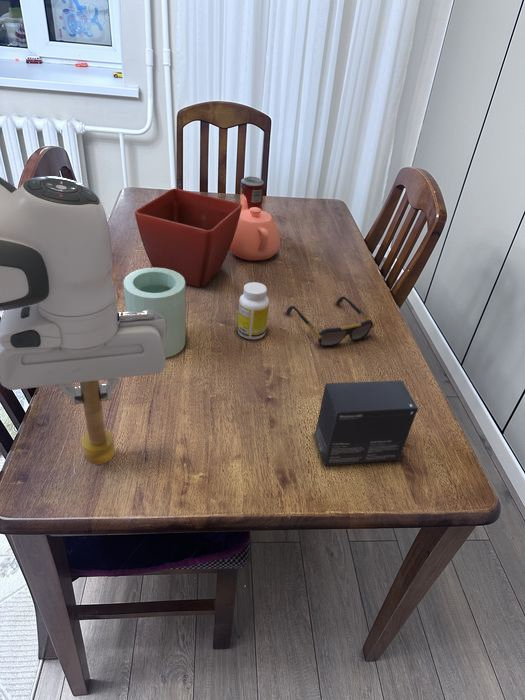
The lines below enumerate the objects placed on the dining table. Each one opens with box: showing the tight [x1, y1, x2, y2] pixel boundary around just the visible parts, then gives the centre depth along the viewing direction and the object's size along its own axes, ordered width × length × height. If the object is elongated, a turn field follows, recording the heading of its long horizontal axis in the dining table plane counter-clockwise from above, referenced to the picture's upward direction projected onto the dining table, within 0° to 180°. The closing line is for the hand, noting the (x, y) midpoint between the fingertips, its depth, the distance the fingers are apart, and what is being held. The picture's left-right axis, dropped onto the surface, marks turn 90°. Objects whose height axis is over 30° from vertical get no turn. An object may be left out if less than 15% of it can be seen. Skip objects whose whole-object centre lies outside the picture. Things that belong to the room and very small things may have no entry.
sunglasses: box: [286, 296, 376, 348], centre depth 108 cm, size 14×15×5 cm
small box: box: [314, 380, 419, 466], centre depth 78 cm, size 13×7×12 cm, turn 99°
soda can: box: [239, 176, 265, 211], centre depth 150 cm, size 7×7×12 cm
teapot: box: [229, 194, 281, 261], centre depth 132 cm, size 22×15×12 cm
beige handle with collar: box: [79, 380, 116, 465], centre depth 69 cm, size 4×4×16 cm
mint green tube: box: [122, 267, 187, 359], centre depth 95 cm, size 11×11×14 cm
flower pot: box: [134, 187, 242, 288], centre depth 118 cm, size 19×19×17 cm
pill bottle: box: [237, 281, 270, 340], centre depth 101 cm, size 6×6×11 cm
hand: (91, 399), depth 67 cm, fingers closed on beige handle with collar, 2 cm apart
